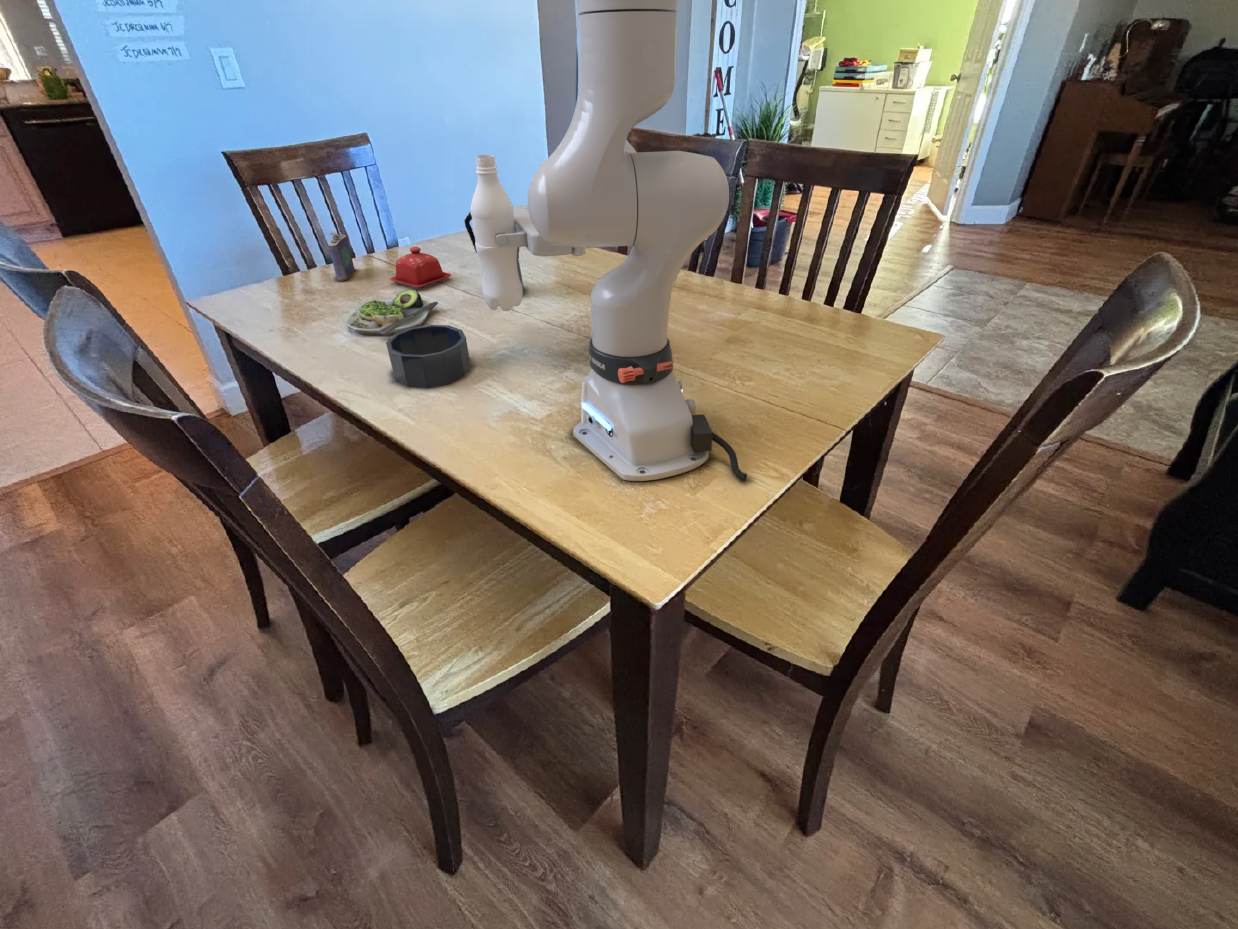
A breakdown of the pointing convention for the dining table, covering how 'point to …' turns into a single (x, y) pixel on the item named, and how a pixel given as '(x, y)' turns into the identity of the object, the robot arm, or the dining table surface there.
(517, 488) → the dining table surface
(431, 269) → the butter dish
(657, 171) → the robot arm
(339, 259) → the flask
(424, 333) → the dark grey faceted ring
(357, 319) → the avocado toast plate
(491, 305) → the water bottle
